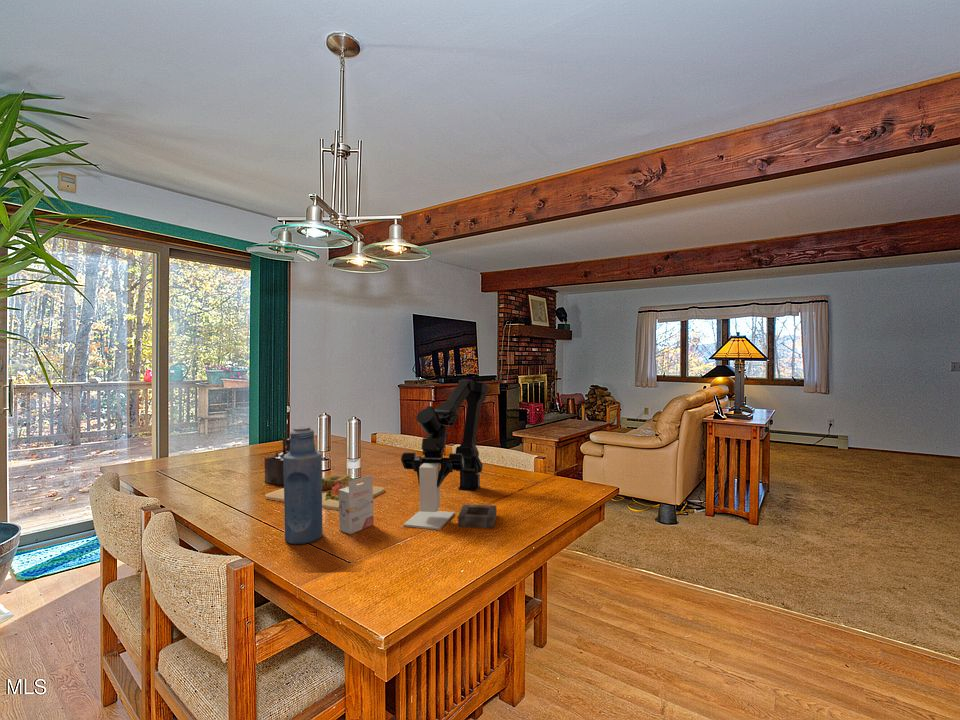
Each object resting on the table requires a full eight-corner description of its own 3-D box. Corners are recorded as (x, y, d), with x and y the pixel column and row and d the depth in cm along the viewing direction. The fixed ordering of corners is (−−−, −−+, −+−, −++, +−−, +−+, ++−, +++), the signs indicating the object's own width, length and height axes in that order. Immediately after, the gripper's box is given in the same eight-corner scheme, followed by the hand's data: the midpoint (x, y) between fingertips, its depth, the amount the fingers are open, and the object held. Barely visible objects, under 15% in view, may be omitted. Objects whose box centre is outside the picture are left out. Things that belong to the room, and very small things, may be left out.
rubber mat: (403, 526, 133) (403, 524, 133) (421, 511, 146) (421, 509, 146) (439, 530, 131) (439, 527, 131) (454, 514, 143) (454, 512, 143)
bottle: (327, 530, 131) (326, 424, 130) (316, 545, 121) (314, 430, 120) (292, 531, 130) (291, 424, 130) (278, 546, 120) (277, 430, 120)
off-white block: (419, 511, 136) (419, 467, 136) (423, 505, 141) (423, 463, 141) (436, 512, 136) (436, 467, 135) (439, 506, 140) (439, 463, 140)
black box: (262, 482, 178) (261, 435, 178) (286, 475, 188) (286, 431, 188) (289, 488, 171) (288, 439, 170) (313, 480, 180) (312, 434, 180)
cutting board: (387, 492, 168) (387, 471, 167) (345, 513, 146) (345, 489, 146) (310, 482, 181) (310, 463, 180) (261, 500, 159) (261, 478, 159)
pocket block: (458, 526, 133) (458, 516, 133) (463, 514, 143) (463, 504, 143) (493, 528, 132) (493, 517, 132) (496, 515, 142) (496, 505, 142)
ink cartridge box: (362, 521, 137) (362, 472, 137) (374, 525, 134) (373, 474, 134) (338, 530, 131) (337, 478, 130) (349, 534, 128) (348, 481, 127)
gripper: (402, 426, 143) (391, 471, 132) (462, 427, 141) (456, 473, 130) (409, 446, 151) (399, 490, 140) (466, 447, 149) (461, 492, 138)
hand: (428, 486), depth 137 cm, fingers closed on off-white block, 5 cm apart
